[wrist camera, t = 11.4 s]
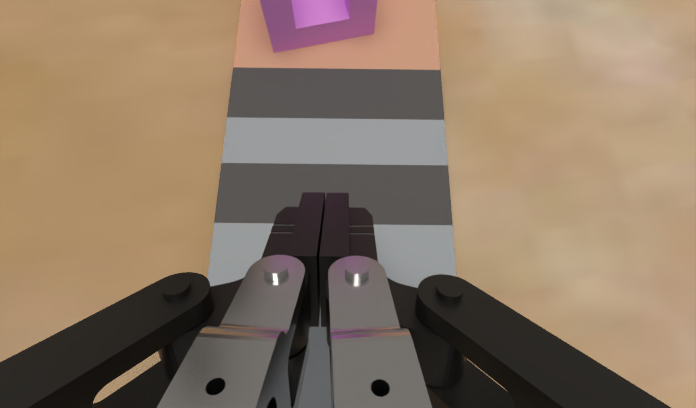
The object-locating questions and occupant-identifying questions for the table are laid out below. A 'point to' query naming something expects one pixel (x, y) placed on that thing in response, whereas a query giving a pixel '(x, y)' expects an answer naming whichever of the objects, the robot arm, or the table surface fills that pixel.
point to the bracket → (316, 21)
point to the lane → (338, 149)
